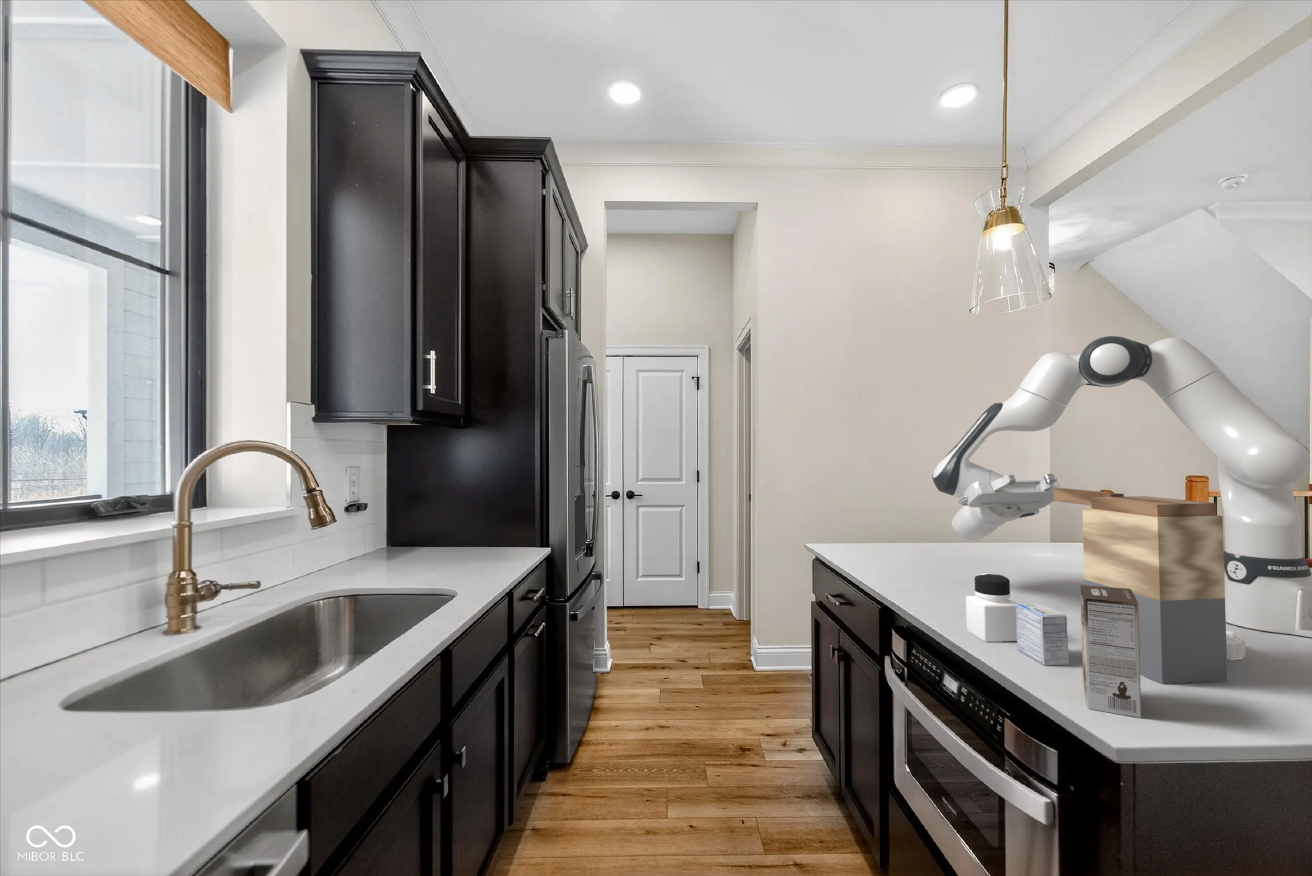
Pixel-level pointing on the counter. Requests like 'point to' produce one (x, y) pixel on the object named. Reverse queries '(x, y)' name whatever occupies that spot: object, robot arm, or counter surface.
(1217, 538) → the tower top block
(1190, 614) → the tower base block
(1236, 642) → the mooncake
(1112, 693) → the coffee box
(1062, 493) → the walnut board
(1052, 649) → the medicine box
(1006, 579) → the medicine bottle
